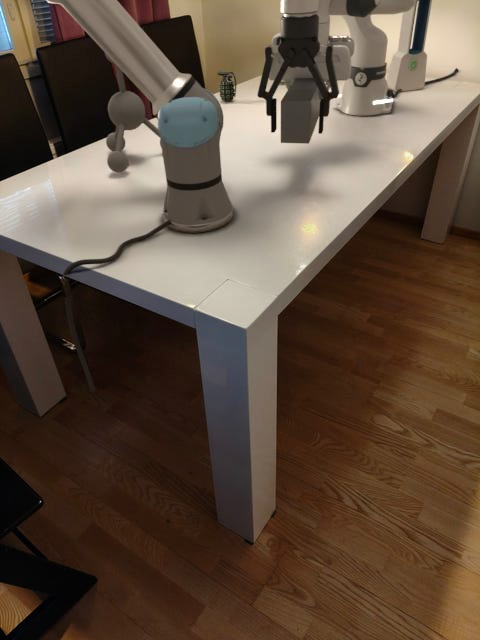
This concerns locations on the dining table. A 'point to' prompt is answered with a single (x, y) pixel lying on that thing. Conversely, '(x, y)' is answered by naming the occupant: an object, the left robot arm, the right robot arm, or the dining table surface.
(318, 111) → the box
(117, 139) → the molecular model
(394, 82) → the electronic device
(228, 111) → the dining table surface
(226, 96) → the grenade
